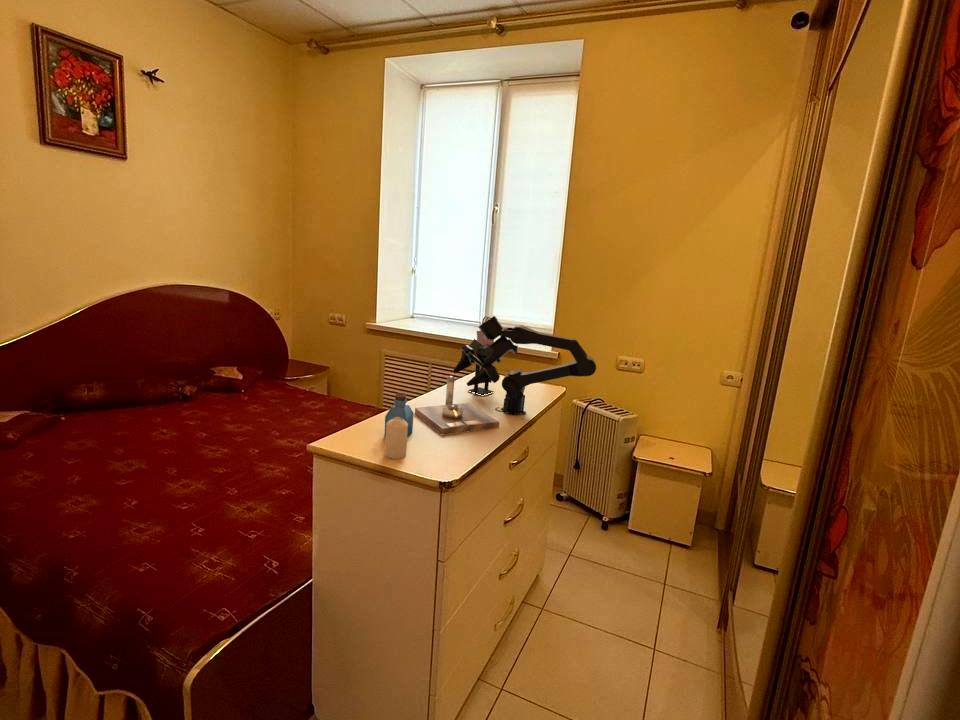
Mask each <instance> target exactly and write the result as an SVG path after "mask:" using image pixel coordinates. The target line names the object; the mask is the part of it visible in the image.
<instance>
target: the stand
mask: <svg viewBox="0 0 960 720" xmlns="http://www.w3.org/2000/svg"><path fill="white" fill-rule="evenodd" d="M455 404H456V405H458V407H461V408H462V409H463V416H462V417H461V418H447V417H444V416H443V415H442V412H443V407H445V406H447V405H445V404H443V405H442V404H441V405H430V406H421V407H414V414H415V415H416V416H417V417H418V418H420V419H421V420H422V421H424V423H426V424H427V425H429V426H430V427H431V428H432V429H434V430H435V431H437V433H439V434H440V435H442V436H444V435H451V434H459V433H460V432H461V433H468V432H467V431H469V432H475V431H474V430H477V431H483V430H482V429H485V430H491V428H493V429H499V428H500V421H499V420H497V419H495V418H494V417H492V416H490V415H489V414H487V413H486V412H484V411H483V410H481V409H479V408H477V407H476V406H474V405H473V404H471V403H470V402H464V403H455ZM461 433H460V434H461Z"/></svg>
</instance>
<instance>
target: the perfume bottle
mask: <svg viewBox="0 0 960 720" xmlns="http://www.w3.org/2000/svg"><path fill="white" fill-rule="evenodd" d="M394 396H395V397H394V399H393V401H394V404H393V405H392V406H391V407H390V408H389V410H388V411H387V413H386V414H385V416H384V419H385V420H384V435H383V437H384V438H386V423H387V422H388V421H390V420H391V419H393V418H395V417H400V418H401V419H404V420H405V421H406V422H407V423H408V433H407V439H408V438H409V437H410V436H411V435H412V434H413V428H414V414H415V412H414V411H413V410H412V408H411V406H410V405H409V404H407V394H405V393H395V395H394Z"/></svg>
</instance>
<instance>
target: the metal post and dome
mask: <svg viewBox="0 0 960 720" xmlns="http://www.w3.org/2000/svg"><path fill="white" fill-rule="evenodd" d="M455 380H456V379H455V377H454V376H453V375H449V376H447V378H446V391H445V392H446V393H445V403H444V405H447V406H445V407H443V412H442V415H443V416H444V417H447V418H461V417H462V416H463V409H462V408H461V407H458V405H456V404H457V403H454V391H455V388H454V387H455V382H456V381H455Z"/></svg>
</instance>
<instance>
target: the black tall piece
mask: <svg viewBox="0 0 960 720" xmlns="http://www.w3.org/2000/svg"><path fill="white" fill-rule="evenodd" d="M491 318H492V317H490V316H487V315H486V316H484V317H483V318H482V321H481V325H482V324H483V323H484V322H486V321H487V320H489V319H491ZM476 340H477V341H478V342H479V343H481V344H482V345H483V346H484V345H485V344H488V345H491V344H492V343H493V342H495V339H494V340H493V341H492V340H490V339H489V340H488V339H487V338H486V337H485V335H484V334H483V333H482V331H481V330H480V329H479V330H477V331H476ZM478 362H479V361H478ZM480 369H481V367H480V366H479V365H478V364H477V363H475V369H474V376H475V375H477V374H478V373H479V371H480ZM489 386H490V382H487V383H484V387H479V384H475V385H473V388H472V389H467V392H469V391H471V392H475V393H478V394H481V395H484V394H488V393H491V392H492V393H495V390H490V389H489Z"/></svg>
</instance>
